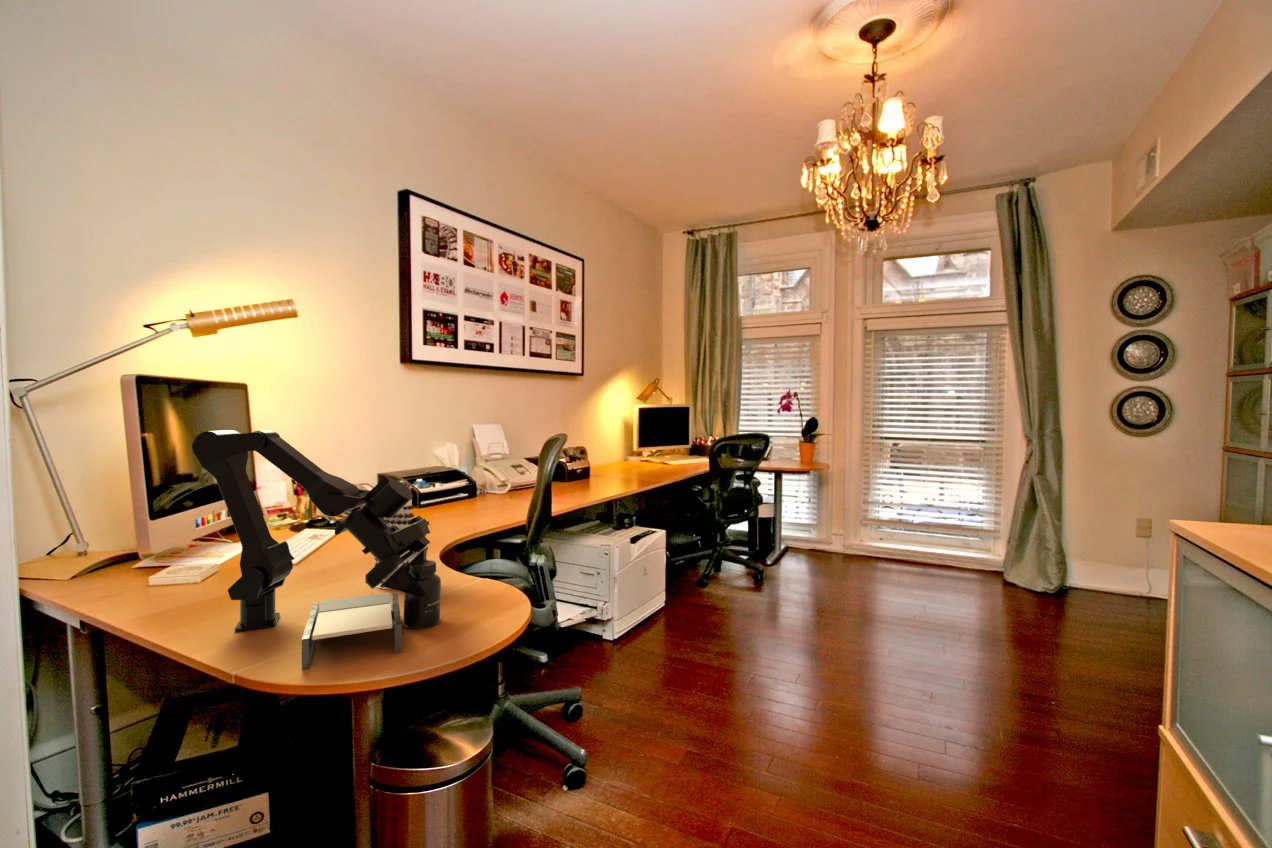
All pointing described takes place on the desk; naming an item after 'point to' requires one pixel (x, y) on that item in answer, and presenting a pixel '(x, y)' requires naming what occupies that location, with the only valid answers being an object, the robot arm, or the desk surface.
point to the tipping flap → (353, 616)
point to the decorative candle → (399, 521)
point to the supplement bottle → (427, 607)
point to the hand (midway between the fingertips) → (429, 589)
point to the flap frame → (309, 629)
